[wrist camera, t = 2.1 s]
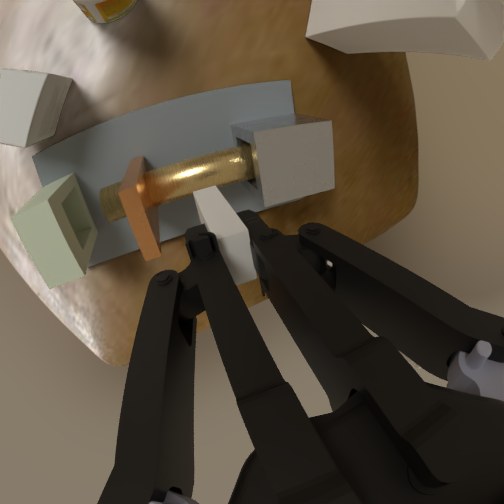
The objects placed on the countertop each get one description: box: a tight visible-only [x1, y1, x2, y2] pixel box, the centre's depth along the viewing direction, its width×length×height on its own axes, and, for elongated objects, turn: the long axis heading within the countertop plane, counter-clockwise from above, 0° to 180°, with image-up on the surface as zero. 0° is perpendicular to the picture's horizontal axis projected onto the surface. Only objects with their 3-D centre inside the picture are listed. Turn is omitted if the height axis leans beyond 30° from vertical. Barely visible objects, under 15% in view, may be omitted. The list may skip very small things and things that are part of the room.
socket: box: [11, 172, 98, 289], centre depth 20 cm, size 7×4×8 cm, turn 9°
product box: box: [0, 68, 72, 148], centre depth 14 cm, size 6×6×7 cm
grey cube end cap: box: [230, 114, 335, 207], centre depth 24 cm, size 6×7×7 cm
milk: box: [306, 0, 504, 61], centre depth 13 cm, size 6×6×22 cm
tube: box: [99, 143, 256, 261], centre depth 21 cm, size 5×20×10 cm, turn 99°
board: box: [32, 80, 302, 268], centre depth 25 cm, size 14×27×1 cm, turn 99°
